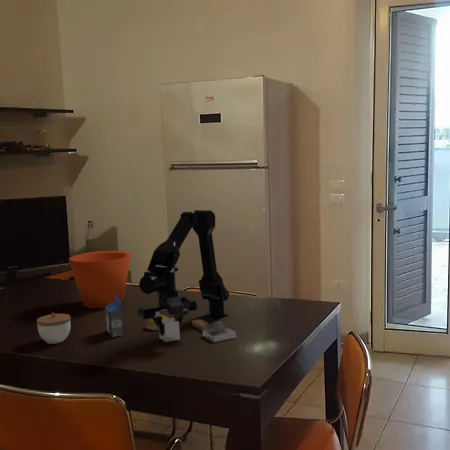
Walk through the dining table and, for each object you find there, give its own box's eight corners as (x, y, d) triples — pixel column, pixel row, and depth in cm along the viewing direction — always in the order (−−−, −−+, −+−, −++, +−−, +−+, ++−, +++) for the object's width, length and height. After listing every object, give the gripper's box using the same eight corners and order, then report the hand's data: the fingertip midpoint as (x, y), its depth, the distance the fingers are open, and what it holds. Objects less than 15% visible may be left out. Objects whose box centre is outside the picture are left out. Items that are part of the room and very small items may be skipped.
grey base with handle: (186, 326, 203) (185, 312, 202) (206, 322, 206) (206, 308, 206) (214, 342, 184) (213, 327, 184) (236, 338, 188) (235, 323, 187)
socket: (159, 338, 191) (158, 320, 190) (173, 335, 193) (172, 317, 193) (165, 342, 187) (164, 323, 186) (179, 339, 189) (178, 321, 188)
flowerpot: (146, 299, 244) (143, 252, 242) (104, 314, 223) (100, 263, 221) (102, 293, 258) (99, 249, 255) (59, 307, 237) (55, 259, 235)
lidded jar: (54, 347, 186) (51, 319, 185) (31, 343, 192) (29, 315, 191) (79, 338, 195) (76, 310, 194) (56, 334, 201) (54, 307, 200)
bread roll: (143, 331, 200) (142, 319, 200) (151, 323, 209) (150, 312, 209) (166, 331, 199) (165, 320, 198) (173, 323, 208) (172, 312, 207)
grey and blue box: (106, 330, 202) (103, 295, 201) (117, 329, 204) (115, 294, 202) (111, 337, 194) (109, 301, 192) (123, 335, 195) (121, 299, 194)
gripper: (148, 296, 176) (151, 346, 178) (203, 287, 185) (206, 335, 187) (135, 289, 186) (138, 337, 188) (189, 281, 195) (191, 326, 197)
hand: (169, 334), depth 190 cm, fingers closed on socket, 5 cm apart
